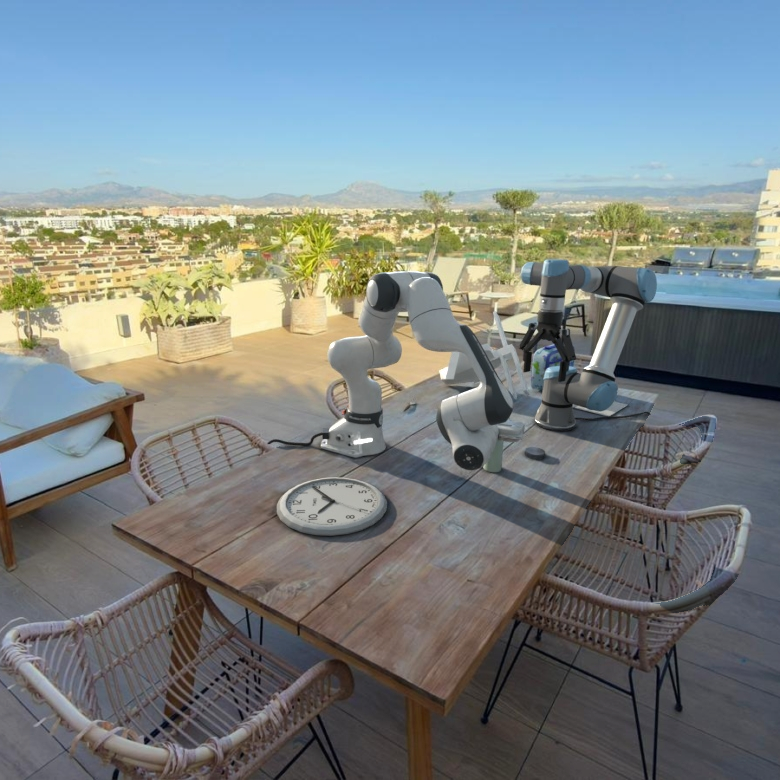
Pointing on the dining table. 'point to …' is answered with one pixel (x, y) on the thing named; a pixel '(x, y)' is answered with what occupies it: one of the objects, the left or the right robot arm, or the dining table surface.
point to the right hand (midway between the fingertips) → (543, 376)
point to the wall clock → (331, 506)
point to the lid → (534, 453)
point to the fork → (411, 403)
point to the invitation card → (609, 411)
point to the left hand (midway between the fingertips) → (490, 417)
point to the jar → (495, 458)
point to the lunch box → (544, 364)
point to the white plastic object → (465, 373)
